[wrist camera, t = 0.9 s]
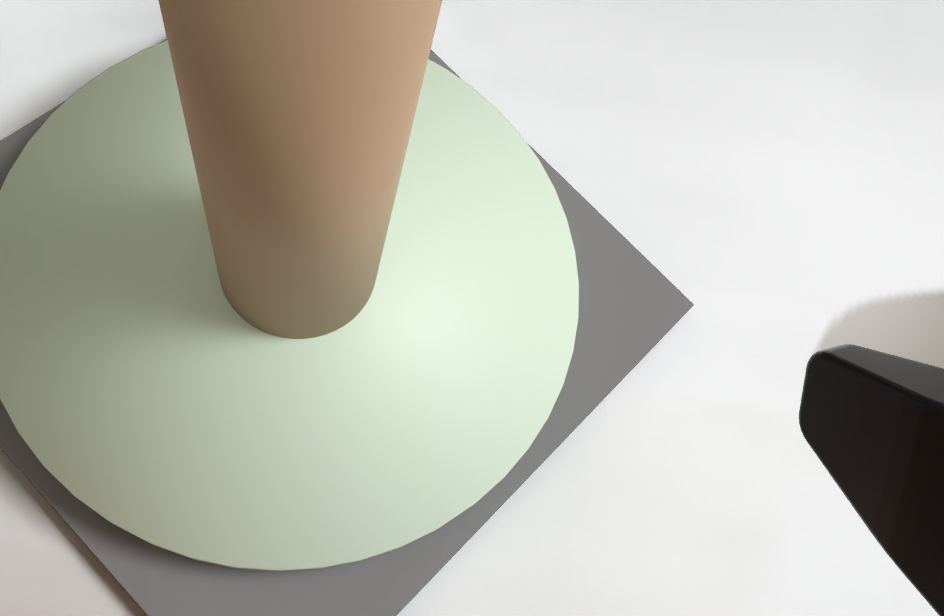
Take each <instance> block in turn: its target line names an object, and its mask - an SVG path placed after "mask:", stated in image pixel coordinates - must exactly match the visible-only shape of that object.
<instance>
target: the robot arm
mask: <svg viewBox="0 0 944 616" xmlns="http://www.w3.org/2000/svg"><path fill="white" fill-rule="evenodd" d="M799 424H800V427H801V431H802V433H803V435H804V437H805V439H806V441H807V442H808V444H809V445H810V446H811V448H812V449H813V451H814V452H815V453H816V455H817V456H818V458H819V459H820V461H821V462H822V463H823V465H824V466H825V468H826V469H827V470H828V472H829V473H830V475H831V476H832V478H833V479H834V480H835V482H836V483H837V485H838V486H839V487H840V489H841V490H842V492H843V493H844V495H845V496H846V497H847V499H848V500H849V502H850V503H851V504H852V506H853V507H854V509H855V510H856V512H857V513H858V514H859V516H860V517H861V519H862V520H863V521H864V523H865V524H866V526H867V527H868V529H869V530H870V531H871V533H872V534H873V536H874V537H875V538H876V540H877V541H878V542H879V544H880V545H881V546H882V548H883V549H884V550H885V552H886V553H887V554H888V555H889V557H890V558H891V559H892V560H893V562H894V563H895V564H896V565H897V566H898V568H899V569H900V570H901V571H902V573H903V574H904V575H905V576H906V577H907V578H908V580H909V581H910V582H911V583H912V584H913V585H914V587H915V588H916V589H917V590H918V591H919V592H920V594H921V595H922V596H923V597H924V598H925V599H926V601H927V602H928V603H929V604H930V605H931V606H932V608H933V609H934V610H935V611H936V612H937V613H938V615H939V616H944V369H943V368H939V367H936V366H932V365H928V364H924V363H921V362H917V361H913V360H909V359H905V358H902V357H898V356H894V355H890V354H886V353H882V352H879V351H875V350H871V349H868V348H864V347H860V346H856V345H850V344H846V345H840V346H836V347H832V348H829V349H825V350H821V351H818V352H816V353H815V354H813V355H812V356H811V358H810V360H809V361H808V364H807V368H806V374H805V380H804V386H803V392H802V398H801V404H800V411H799Z"/></svg>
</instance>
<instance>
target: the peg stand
mask: <svg viewBox="0 0 944 616" xmlns="http://www.w3.org/2000/svg"><path fill="white" fill-rule="evenodd" d="M441 3H442V0H159V4H160V8H161V13H162V17H163V22H164V27H165V31H166V36H167V40H168V41H165V42H163V43H160V44H157V45H155V46H152V47H150V48H147V49H145V50H142V51H140V52H138V53H136V54H134V55H133V56H131V57H129V58H127V59H125V60H123V61H121V62H119V63H118V64H116V65H114V66H112V67H110V68H108V69H107V70H106V71H104V72H103V73H101V74H100V75H98V76H97V77H96V78H94V79H93V80H91V81H90V82H88V83H87V84H86V85H84V86H83V87H81V88H80V89H79V90H78V91H76V92H75V93H74V94H73V95H72V96H71V97H70V98H69V99H68V100H67V101H65V102H64V103H63V104H62V105H61V106H60V107H59V108H58V109H57V110H56V111H54V112H53V113H52V114H51V115H50V117H49V118H48V119H47V120H46V121H45V123H44V124H43V125H42V126H41V127H40V128H39V130H38V131H37V132H36V133H35V134H34V136H33V137H32V138H31V139H30V140H29V141H28V143H27V144H26V146H25V148H24V149H23V151H22V152H21V154H20V155H19V157H18V159H17V160H16V162H15V163H14V165H13V166H12V168H11V170H10V171H9V173H8V175H7V177H6V179H5V181H4V184H3V186H2V188H1V190H0V399H1V401H2V403H3V405H4V407H5V409H6V410H7V412H8V414H9V416H10V418H11V420H12V422H13V423H14V425H15V427H16V429H17V431H18V433H19V434H20V435H21V437H22V438H23V439H24V441H25V442H26V443H27V445H28V446H29V447H30V449H31V450H32V451H33V453H34V454H35V455H36V457H37V458H38V459H39V461H40V462H41V463H42V464H43V466H44V467H45V468H46V469H47V470H48V471H49V472H50V473H51V474H52V475H53V476H54V477H55V478H56V479H57V480H58V481H59V482H60V483H61V484H63V485H64V486H65V487H66V488H67V489H68V490H69V491H70V492H71V493H72V494H73V495H74V496H75V497H76V498H78V499H79V500H80V501H82V502H83V503H85V504H86V505H87V506H89V507H90V508H91V509H93V510H94V511H96V512H97V513H98V514H100V515H101V516H103V517H104V518H105V519H107V520H108V521H109V522H111V523H113V524H115V525H117V526H118V527H120V528H122V529H124V530H126V531H128V532H130V533H132V534H134V535H136V536H137V537H139V538H141V539H143V540H145V541H147V542H149V543H151V544H153V545H155V546H157V547H160V548H163V549H165V550H168V551H171V552H174V553H177V554H179V555H182V556H185V557H188V558H191V559H193V560H197V561H202V562H206V563H211V564H216V565H221V566H225V567H230V568H235V569H246V570H260V571H274V572H285V571H301V570H317V569H325V568H330V567H335V566H340V565H345V564H350V563H355V562H360V561H363V560H366V559H369V558H372V557H375V556H378V555H381V554H384V553H387V552H390V551H393V550H396V549H399V548H401V547H403V546H405V545H407V544H409V543H411V542H413V541H415V540H417V539H419V538H421V537H423V536H425V535H427V534H429V533H431V532H433V531H435V530H437V529H438V528H440V527H441V526H443V525H444V524H446V523H447V522H449V521H450V520H452V519H453V518H455V517H456V516H458V515H459V514H461V513H462V512H463V511H465V510H466V509H468V508H469V507H471V506H472V505H474V504H475V503H476V502H477V501H479V500H480V499H481V498H482V497H483V496H484V495H485V494H486V493H487V492H489V491H490V490H491V489H492V488H493V487H494V486H495V485H496V484H498V483H499V482H500V481H501V480H502V479H503V478H504V477H505V476H506V475H507V474H508V472H509V471H510V470H511V469H512V468H513V467H514V465H515V464H516V463H517V462H518V461H519V459H520V458H521V457H522V456H523V455H524V454H525V452H526V451H527V450H528V449H529V447H530V446H531V444H532V443H533V441H534V439H535V438H536V436H537V435H538V433H539V432H540V430H541V428H542V427H543V425H544V424H545V422H546V421H547V419H548V417H549V415H550V413H551V411H552V409H553V406H554V404H555V402H556V400H557V398H558V395H559V393H560V391H561V389H562V387H563V384H564V381H565V377H566V374H567V371H568V367H569V364H570V361H571V357H572V354H573V350H574V343H575V337H576V330H577V324H578V312H579V280H578V272H577V263H576V255H575V249H574V245H573V241H572V237H571V233H570V229H569V225H568V221H567V218H566V215H565V213H564V210H563V208H562V205H561V203H560V200H559V198H558V195H557V193H556V190H555V188H554V186H553V184H552V182H551V181H550V179H549V177H548V175H547V173H546V172H545V170H544V168H543V166H542V164H541V162H540V161H539V159H538V158H537V156H536V155H535V153H534V152H533V151H532V149H531V148H530V146H529V145H528V144H527V142H526V141H525V140H524V138H523V137H522V135H521V134H520V133H519V132H518V130H517V129H516V128H515V127H514V126H513V125H512V124H511V123H510V122H509V121H508V120H507V118H506V117H505V116H504V115H503V114H502V113H501V112H500V111H499V110H498V109H497V108H496V107H495V106H494V105H493V104H492V103H490V102H489V101H488V100H487V99H486V98H485V97H483V96H482V95H481V94H480V93H479V92H478V91H477V90H475V89H474V88H473V87H472V86H470V85H469V84H467V83H466V82H465V81H463V80H462V79H460V78H459V77H457V76H456V75H454V74H453V73H451V72H450V71H448V70H447V69H446V68H444V67H442V66H440V65H438V64H437V63H435V62H433V61H431V60H429V59H428V58H429V53H430V49H431V45H432V41H433V37H434V32H435V28H436V24H437V20H438V16H439V11H440V7H441Z"/></svg>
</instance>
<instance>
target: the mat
mask: <svg viewBox="0 0 944 616" xmlns="http://www.w3.org/2000/svg"><path fill="white" fill-rule="evenodd" d="M165 41H168V40H167V39H165V40H164V41H162V42H161V43H163V42H165ZM159 44H160V43H159ZM428 59H429V60H431V61H433V62H435V63H437V64H438V65H440V66H442V67H444V68H446V69H447V70H448V71H450V72H451V73H453V74H454V75H456V76H457V77H459V76H458V75H457V74H456V73H455V72H454V71H453V70H451V69H450V68H449V67H448V66H447V65H446V64H445V63H444V62H443V61H442V60H441V59H440V58H439V57H438V56H437V55H436V54H435V53H434V52H433V51H432V50H431V49H430V53H429V58H428ZM459 78H460V77H459ZM460 79H461V78H460ZM66 101H67V100H66ZM63 103H64V102H63ZM63 103H62V104H63ZM62 104H60V105H58V106H57V107H55V108H53V109H52V110H50V111H49V112H47V113H45V114H44V115H42V116H40V117H39V118H37V119H36V120H34V121H32V122H31V123H29V124H27V125H26V126H24V127H23V128H21V129H19V130H18V131H16V132H15V133H13V134H11V135H10V136H8V137H6V138H5V139H3V140H2V141H0V190H1V188H2V186H3V184H4V181H5V179H6V177H7V175H8V173H9V171H10V170H11V168H12V166H13V165H14V163H15V162H16V160H17V159H18V157H19V155H20V154H21V152H22V151H23V149H24V148H25V146H26V144H27V143H28V141H29V140H30V139H31V138H32V137H33V136H34V134H35V133H36V132H37V131H38V130H39V128H40V127H41V126H42V125H43V124H44V123H45V121H46V120H47V119H48V118H49V117H50V115H51V114H52V113H53V112H54V111H56V110H57V109H58V108H59V107H60V106H61V105H62ZM527 144H528V143H527ZM528 145H529V144H528ZM529 146H530V145H529ZM530 148H531V149H532V151H533V152H534V153H535V155H536V156H537V158H538V159H539V161H540V162H541V164H542V166H543V168H544V170H545V172H546V173H547V175H548V177H549V179H550V181H551V182H552V184H553V186H554V188H555V190H556V193H557V195H558V198H559V200H560V203H561V205H562V208H563V210H564V213H565V215H566V218H567V221H568V225H569V229H570V233H571V237H572V241H573V245H574V249H575V255H576V263H577V272H578V280H579V312H578V324H577V330H576V337H575V343H574V350H573V354H572V357H571V361H570V364H569V367H568V371H567V374H566V377H565V381H564V384H563V387H562V389H561V391H560V393H559V395H558V398H557V400H556V402H555V404H554V406H553V409H552V411H551V413H550V415H549V417H548V419H547V421H546V422H545V424H544V425H543V427H542V428H541V430H540V432H539V433H538V435H537V436H536V438H535V439H534V441H533V443H532V444H531V446H530V447H529V449H528V450H527V451H526V452H525V454H524V455H523V456H522V457H521V458H520V459H519V461H518V462H517V463H516V464H515V465H514V467H513V468H512V469H511V470H510V471H509V472H508V474H507V475H506V476H505V477H504V478H503V479H502V480H501V481H500V482H499V483H498V484H496V485H495V486H494V487H493V488H492V489H491V490H490V491H489V492H487V493H486V494H485V495H484V496H483V497H482V498H481V499H480V500H479V501H477V502H476V503H475V504H474V505H472V506H471V507H469V508H468V509H466V510H465V511H463V512H462V513H461V514H459V515H458V516H456V517H455V518H453V519H452V520H450V521H449V522H447V523H446V524H444V525H443V526H441V527H440V528H438V529H437V530H435V531H433V532H431V533H429V534H427V535H425V536H423V537H421V538H419V539H417V540H415V541H413V542H411V543H409V544H407V545H405V546H403V547H401V548H399V549H396V550H393V551H390V552H387V553H384V554H381V555H378V556H375V557H372V558H369V559H366V560H363V561H360V562H355V563H350V564H345V565H340V566H335V567H330V568H325V569H317V570H301V571H285V572H274V571H260V570H246V569H235V568H230V567H225V566H221V565H216V564H211V563H206V562H202V561H197V560H193V559H191V558H188V557H185V556H182V555H179V554H177V553H174V552H171V551H168V550H165V549H163V548H160V547H157V546H155V545H153V544H151V543H149V542H147V541H145V540H143V539H141V538H139V537H137V536H136V535H134V534H132V533H130V532H128V531H126V530H124V529H122V528H120V527H118V526H117V525H115V524H113V523H111V522H109V521H108V520H107V519H105V518H104V517H103V516H101V515H100V514H98V513H97V512H96V511H94V510H93V509H91V508H90V507H89V506H87V505H86V504H85V503H83V502H82V501H80V500H79V499H78V498H76V497H75V496H74V495H73V494H72V493H71V492H70V491H69V490H68V489H67V488H66V487H65V486H64V485H63V484H61V483H60V482H59V481H58V480H57V479H56V478H55V477H54V476H53V475H52V474H51V473H50V472H49V471H48V470H47V469H46V468H45V467H44V466H43V464H42V463H41V462H40V461H39V459H38V458H37V457H36V455H35V454H34V453H33V451H32V450H31V449H30V447H29V446H28V445H27V443H26V442H25V441H24V439H23V438H22V437H21V435H20V434H19V433H18V431H17V429H16V427H15V425H14V423H13V422H12V420H11V418H10V416H9V414H8V412H7V410H6V409H5V407H4V405H3V403H2V401H1V399H0V447H1V448H2V449H3V451H4V452H5V453H6V454H7V455H8V456H9V457H10V459H11V460H12V461H13V462H14V463H15V464H16V465H17V467H18V468H19V469H20V470H21V471H22V472H23V473H24V475H25V476H26V477H27V478H28V479H29V480H30V481H31V483H32V484H33V485H34V486H35V487H36V488H37V489H38V491H39V492H40V493H41V494H42V495H43V496H44V497H45V499H46V500H47V501H48V502H49V503H50V504H51V505H52V506H53V508H54V509H55V510H56V511H57V512H58V513H59V514H60V516H61V517H62V518H63V519H64V520H65V521H66V522H67V524H68V525H69V526H70V527H71V528H72V529H73V530H74V532H75V533H76V534H77V535H78V536H79V537H80V538H81V540H82V541H83V542H84V543H85V544H86V545H87V546H88V548H89V549H90V550H91V551H92V552H93V553H94V554H95V556H96V557H97V558H98V559H99V560H100V561H101V562H102V563H103V565H104V566H105V567H106V568H107V569H108V570H109V571H110V573H111V574H112V575H113V576H114V577H115V578H116V579H117V581H118V582H119V583H120V584H121V585H122V586H123V587H124V589H125V590H126V591H127V592H128V593H129V594H130V595H131V597H132V598H133V599H134V600H135V601H136V602H137V603H138V605H139V606H140V607H141V608H142V609H143V610H144V611H145V613H146V614H147V615H148V616H396V615H397V614H398V613H399V612H400V611H401V610H402V609H403V608H404V607H405V606H406V605H407V604H408V603H409V602H410V601H411V600H412V599H413V598H414V597H415V596H416V594H417V593H418V592H419V591H420V590H421V589H422V588H423V587H424V586H425V585H426V584H427V583H428V582H429V581H430V580H431V579H432V578H433V577H434V576H435V575H436V574H437V573H438V572H439V570H440V569H441V568H442V567H443V566H444V565H445V564H446V563H447V562H448V561H449V560H450V559H451V558H452V557H453V556H454V555H455V554H456V553H457V552H458V551H459V550H460V549H461V547H462V546H463V545H464V544H465V543H466V542H467V541H468V540H469V539H470V538H471V537H472V536H473V535H474V534H475V533H476V532H477V531H478V530H479V529H480V528H481V527H482V526H483V525H484V523H485V522H486V521H487V520H488V519H489V518H490V517H491V516H492V515H493V514H494V513H495V512H496V511H497V510H498V509H499V508H500V507H501V506H502V505H503V504H504V503H505V502H506V501H507V499H508V498H509V497H510V496H511V495H512V494H513V493H514V492H515V491H516V490H517V489H518V488H519V487H520V486H521V485H522V484H523V483H524V482H525V481H526V480H527V479H528V478H529V477H530V475H531V474H532V473H533V472H534V471H535V470H536V469H537V468H538V467H539V466H540V465H541V464H542V463H543V462H544V461H545V460H546V459H547V458H548V457H549V456H550V455H551V454H552V452H553V451H554V450H555V449H556V448H557V447H558V446H559V445H560V444H561V443H562V442H563V441H564V440H565V439H566V438H567V437H568V436H569V435H570V434H571V433H572V432H573V431H574V430H575V428H576V427H577V426H578V425H579V424H580V423H581V422H582V421H583V420H584V419H585V418H586V417H587V416H588V415H589V414H590V413H591V412H592V411H593V410H594V409H595V408H596V407H597V406H598V404H599V403H600V402H601V401H602V400H603V399H604V398H605V397H606V396H607V395H608V394H609V393H610V392H611V391H612V390H613V389H614V388H615V387H616V386H617V385H618V384H619V383H620V382H621V380H622V379H623V378H624V377H625V376H626V375H627V374H628V373H629V372H630V371H631V370H632V369H633V368H634V367H635V366H636V365H637V364H638V363H639V362H640V361H641V360H642V359H643V357H644V356H645V355H646V354H647V353H648V352H649V351H650V350H651V349H652V348H653V347H654V346H655V345H656V344H657V343H658V342H659V341H660V340H661V339H662V338H663V337H664V336H665V335H666V333H667V332H668V331H669V330H670V329H671V328H672V327H673V326H674V325H675V324H676V323H677V322H678V321H679V320H680V319H681V318H682V317H683V316H684V315H685V314H686V313H687V312H688V311H689V309H690V308H691V307H692V306H693V305H694V304H693V303H692V302H691V301H690V300H688V299H687V298H686V297H685V296H684V295H683V294H682V293H681V292H680V291H679V290H678V289H677V288H676V287H675V286H674V285H673V284H672V283H671V282H670V281H669V280H668V279H667V278H666V277H665V276H664V275H663V274H662V273H661V272H660V271H659V270H658V269H657V268H656V267H654V266H653V265H652V264H651V263H650V262H649V261H648V260H647V259H646V258H645V257H644V256H643V255H642V254H641V253H640V252H639V251H638V250H637V249H636V248H635V247H634V246H633V245H632V244H631V243H630V242H629V241H628V240H627V239H626V238H625V237H624V236H623V235H622V234H620V233H619V232H618V231H617V230H616V229H615V228H614V227H613V226H612V225H611V224H610V223H609V222H608V221H607V220H606V219H605V218H604V217H603V216H602V215H601V214H600V213H599V212H598V211H597V210H596V209H595V208H594V207H593V206H592V205H591V204H590V203H589V202H587V201H586V200H585V199H584V198H583V197H582V196H581V195H580V194H579V193H578V192H577V191H576V190H575V189H574V188H573V187H572V186H571V185H570V184H569V183H568V182H567V181H566V180H565V179H564V178H563V177H562V176H561V175H560V174H559V173H558V172H557V171H556V170H555V169H553V168H552V167H551V166H550V165H549V164H548V163H547V162H546V161H545V160H544V159H543V158H542V157H541V156H540V155H539V154H538V153H537V152H536V151H535V150H534V149H533V148H532V147H531V146H530Z"/></svg>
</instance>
